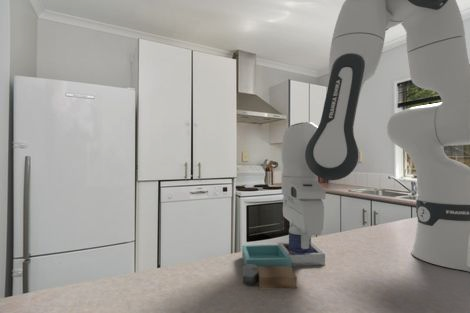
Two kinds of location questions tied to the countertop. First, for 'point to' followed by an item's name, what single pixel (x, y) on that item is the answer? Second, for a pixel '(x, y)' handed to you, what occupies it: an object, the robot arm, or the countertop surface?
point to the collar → (305, 256)
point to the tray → (265, 255)
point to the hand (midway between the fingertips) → (299, 243)
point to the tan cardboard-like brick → (276, 277)
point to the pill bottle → (296, 240)
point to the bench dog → (250, 274)
